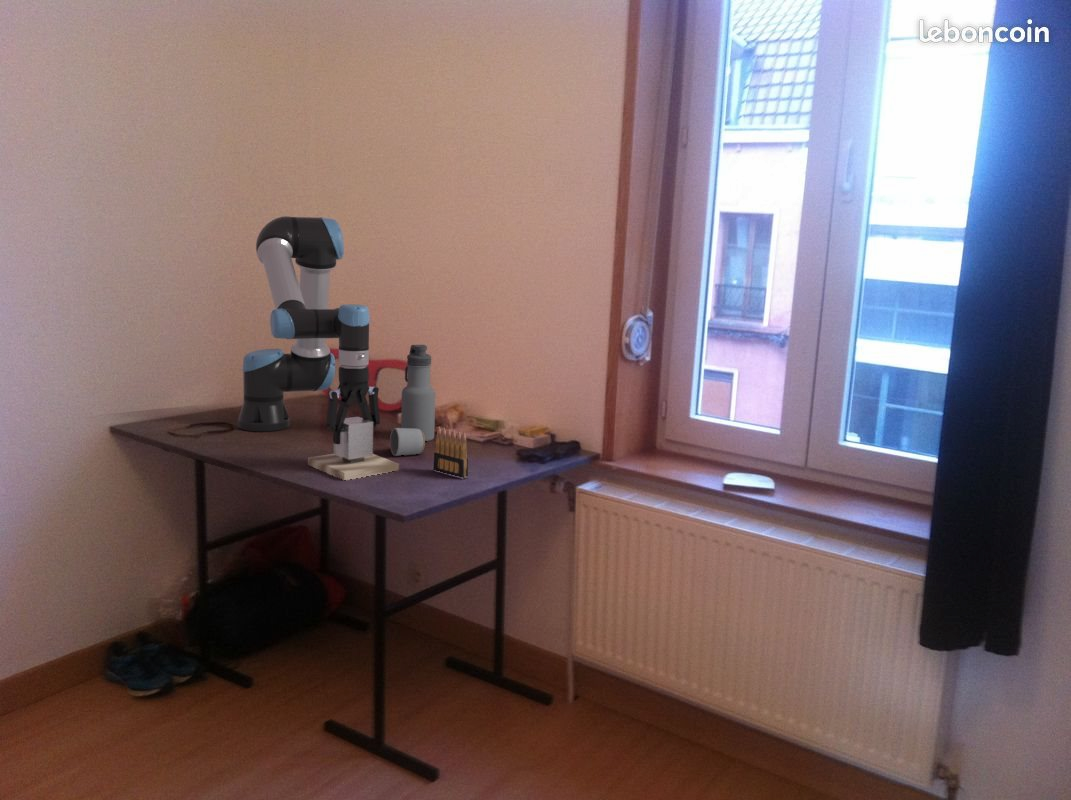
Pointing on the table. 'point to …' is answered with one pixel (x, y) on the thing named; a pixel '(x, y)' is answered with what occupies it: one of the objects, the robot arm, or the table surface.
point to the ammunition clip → (451, 453)
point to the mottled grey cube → (357, 438)
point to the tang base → (352, 466)
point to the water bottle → (418, 393)
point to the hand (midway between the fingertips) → (353, 453)
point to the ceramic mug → (407, 441)
